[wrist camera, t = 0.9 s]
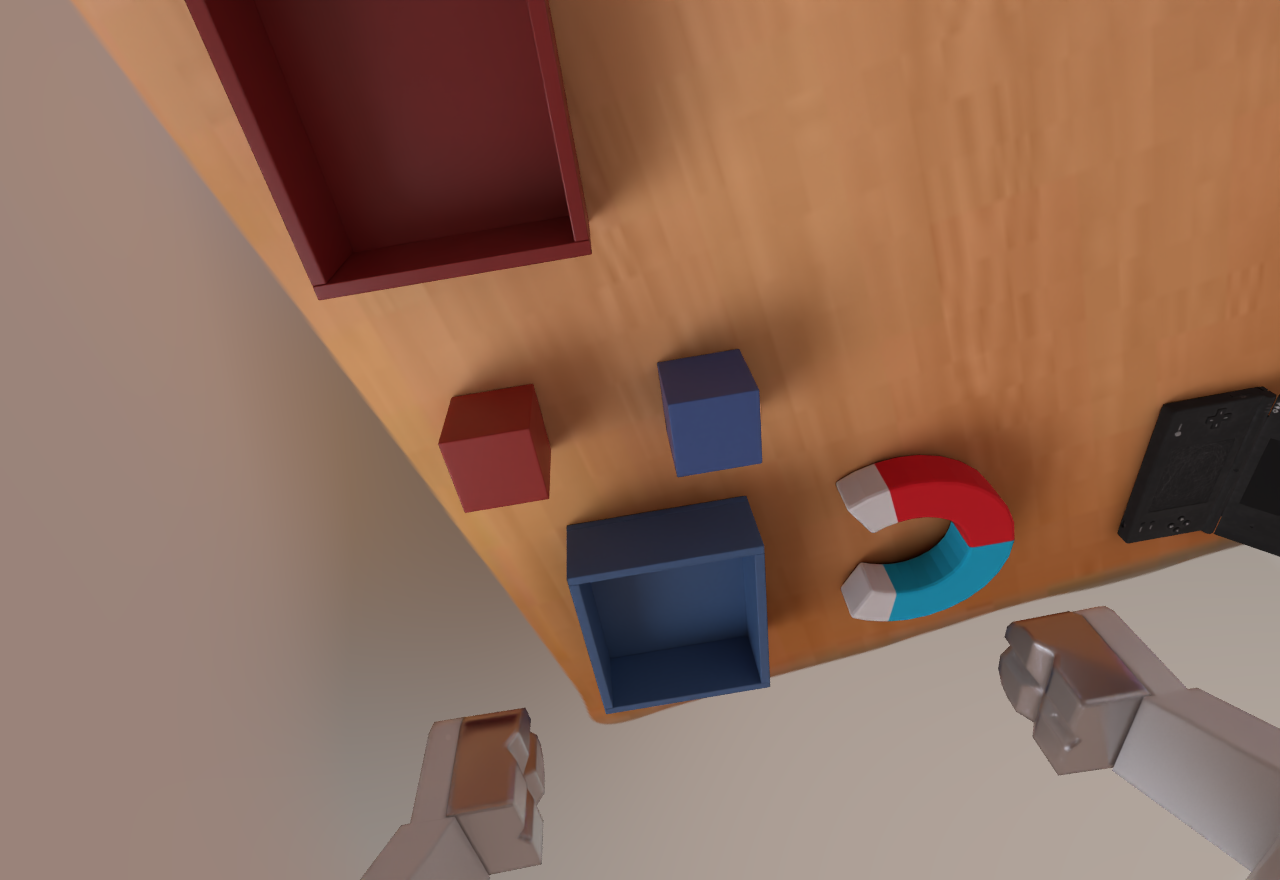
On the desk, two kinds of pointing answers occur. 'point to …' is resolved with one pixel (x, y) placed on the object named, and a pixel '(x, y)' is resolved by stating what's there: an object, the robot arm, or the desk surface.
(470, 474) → the red block
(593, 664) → the blue bin
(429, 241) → the red bin
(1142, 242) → the desk surface
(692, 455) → the blue block
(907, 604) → the magnet
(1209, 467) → the handheld gaming console
